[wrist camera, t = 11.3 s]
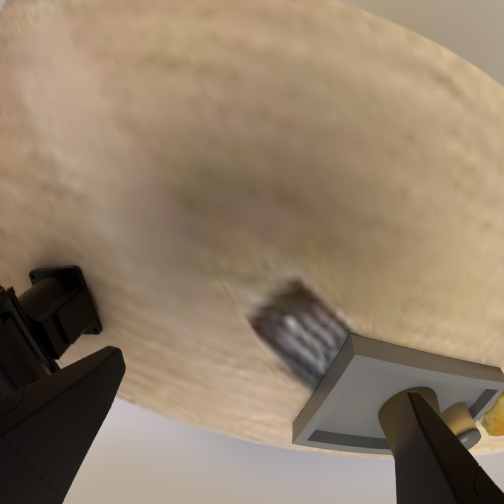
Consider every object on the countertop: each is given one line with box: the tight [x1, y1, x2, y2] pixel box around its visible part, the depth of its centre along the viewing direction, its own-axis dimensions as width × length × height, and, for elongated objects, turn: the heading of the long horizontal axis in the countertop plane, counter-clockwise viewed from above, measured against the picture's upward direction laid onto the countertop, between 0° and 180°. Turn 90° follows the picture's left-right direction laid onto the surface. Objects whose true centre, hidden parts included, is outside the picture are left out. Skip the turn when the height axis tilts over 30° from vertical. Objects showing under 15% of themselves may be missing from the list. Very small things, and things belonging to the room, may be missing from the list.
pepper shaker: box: [378, 386, 442, 459], centre depth 19 cm, size 6×6×11 cm
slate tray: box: [292, 334, 504, 455], centre depth 24 cm, size 19×12×2 cm, turn 73°
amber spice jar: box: [441, 402, 481, 450], centre depth 22 cm, size 3×3×4 cm
